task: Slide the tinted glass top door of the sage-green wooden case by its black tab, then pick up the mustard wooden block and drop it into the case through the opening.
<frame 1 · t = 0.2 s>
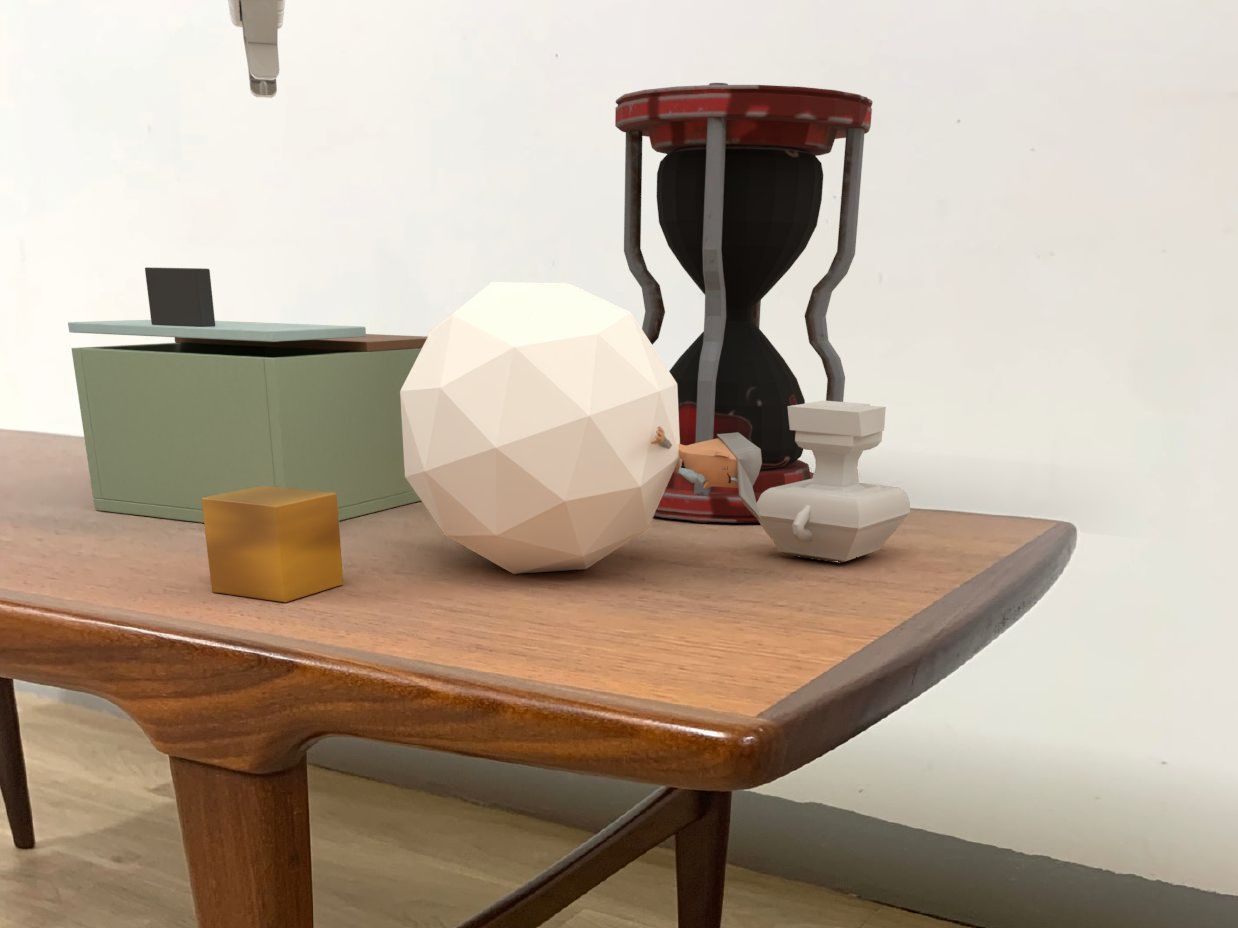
hand: (264, 87, 85), 26 cm above the table, tool pointing down, fingers open, 8 cm apart
case: (281, 501, 89), on the table
glass lid: (215, 301, 80), point 13 cm above the table, slide at 0.0 cm
block: (278, 588, 65), on the table
beige squat bottle: (829, 559, 75), on the table
person on sphere: (573, 575, 70), on the table
hourglass: (724, 507, 91), on the table
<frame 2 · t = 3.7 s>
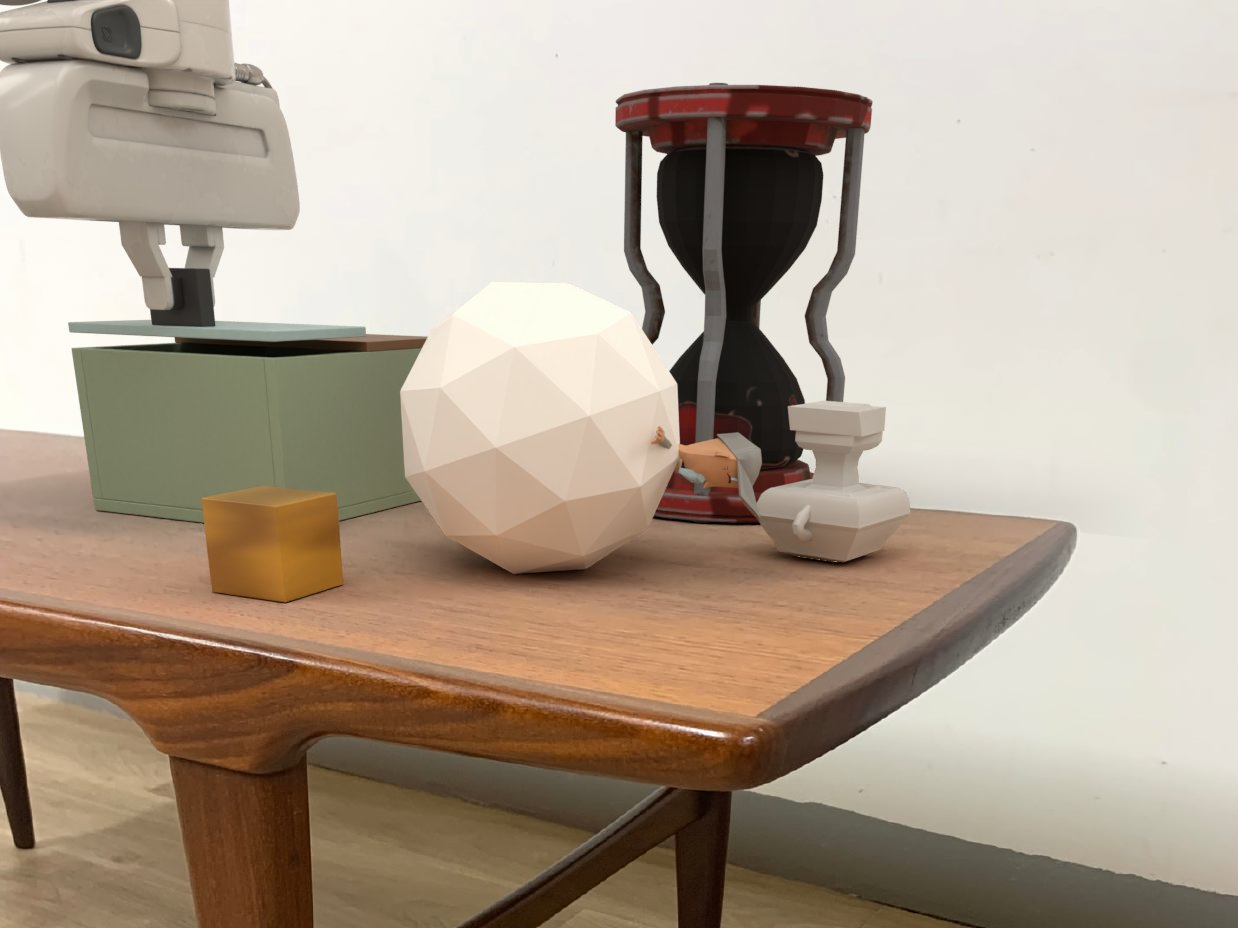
hand: (181, 309, 78), 12 cm above the table, tool pointing down, fingers closed on glass lid
glass lid: (215, 301, 80), point 13 cm above the table, slide at 0.0 cm, touching gripper
everything else where it was.
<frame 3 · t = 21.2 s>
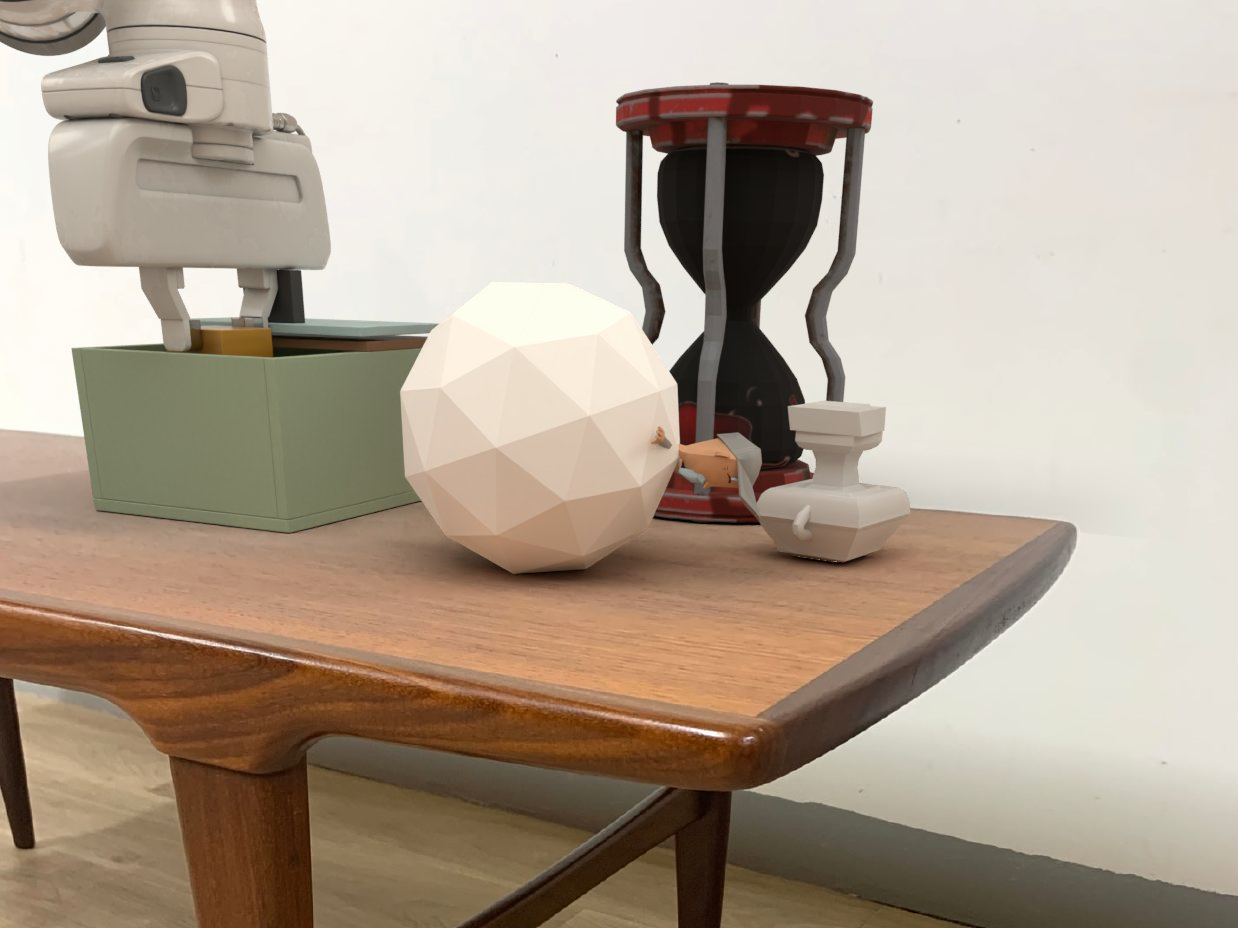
hand: (219, 348, 81), 10 cm above the table, tool pointing down, fingers open, 5 cm apart
glass lid: (302, 300, 87), point 13 cm above the table, slide at 8.5 cm, touching gripper
block: (225, 404, 82), point 7 cm above the table
everything else where it was.
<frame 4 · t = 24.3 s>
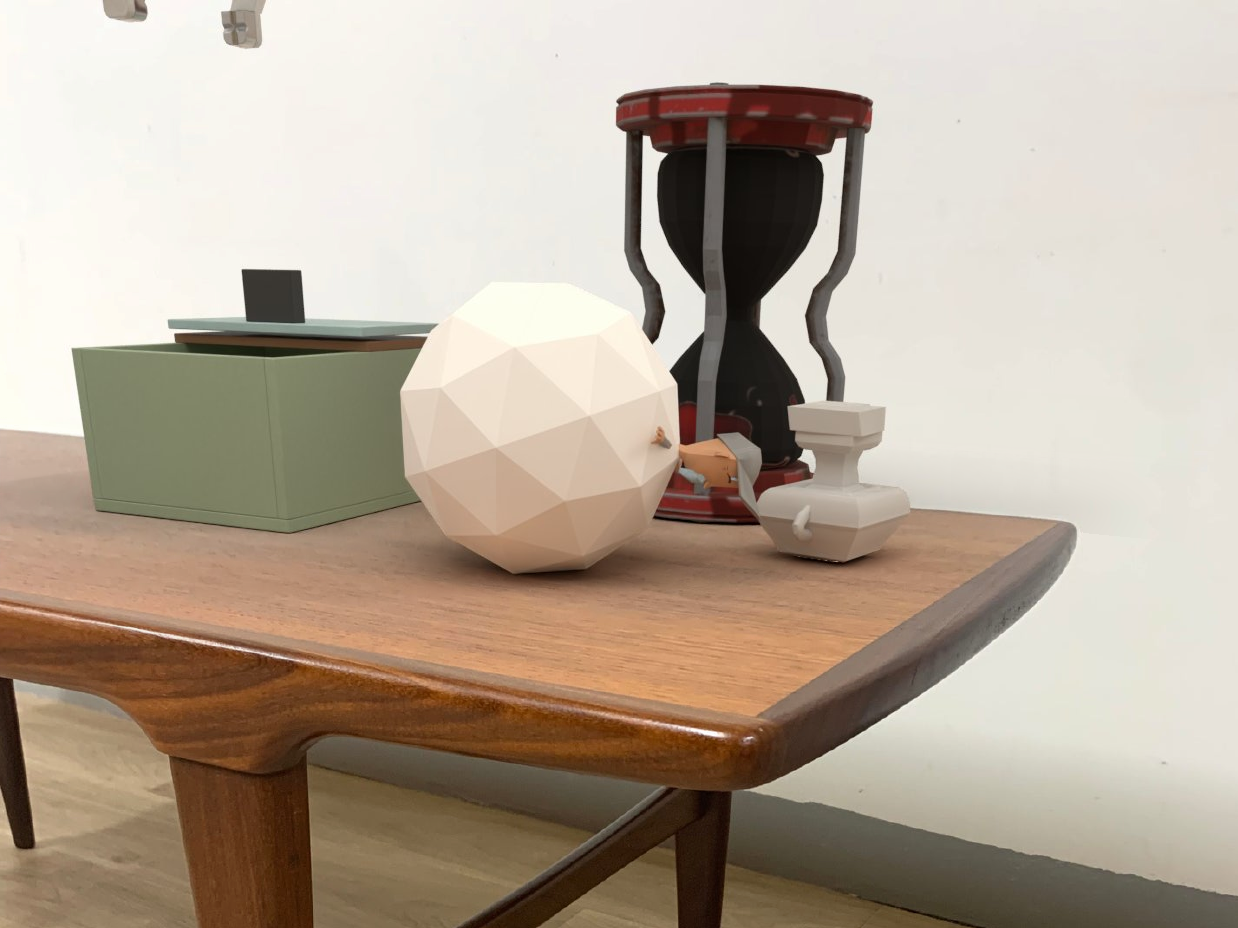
hand: (188, 34, 74), 27 cm above the table, tool pointing down, fingers open, 8 cm apart
glass lid: (303, 300, 87), point 13 cm above the table, slide at 8.5 cm
block: (235, 498, 85), point 1 cm above the table, touching case
everything else where it was.
at the end: glass lid slide at 8.5 cm; block inside the target area on the case (4.5 cm from its centre), point 0.8 cm above the case's base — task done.
